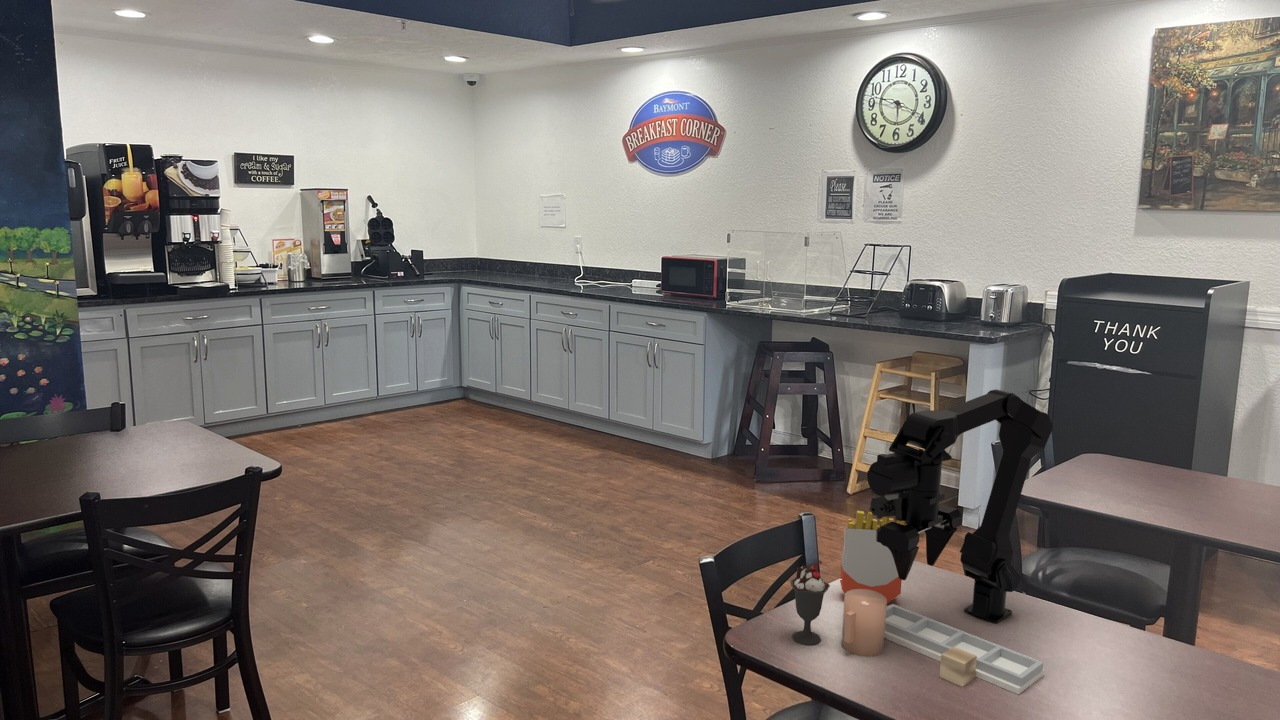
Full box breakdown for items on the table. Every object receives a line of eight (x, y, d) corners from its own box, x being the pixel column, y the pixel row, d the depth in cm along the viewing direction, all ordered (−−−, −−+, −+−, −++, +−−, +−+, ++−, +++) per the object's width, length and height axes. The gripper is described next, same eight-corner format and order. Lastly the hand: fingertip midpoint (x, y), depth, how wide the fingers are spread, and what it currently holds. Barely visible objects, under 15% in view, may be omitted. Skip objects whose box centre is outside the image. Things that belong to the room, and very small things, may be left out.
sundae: (826, 649, 156) (831, 566, 153) (786, 645, 157) (790, 563, 155) (826, 631, 163) (831, 552, 160) (788, 627, 164) (792, 548, 161)
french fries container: (839, 592, 179) (844, 504, 176) (895, 595, 178) (902, 507, 174) (841, 602, 174) (847, 512, 171) (899, 606, 173) (906, 515, 170)
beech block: (951, 669, 151) (953, 646, 150) (974, 678, 148) (976, 655, 147) (939, 677, 148) (941, 654, 147) (962, 687, 145) (964, 663, 144)
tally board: (893, 615, 169) (894, 602, 169) (1043, 675, 149) (1045, 660, 149) (865, 630, 163) (866, 617, 163) (1018, 694, 143) (1019, 679, 143)
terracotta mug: (856, 632, 162) (860, 585, 161) (891, 647, 157) (894, 598, 156) (828, 648, 157) (831, 598, 155) (863, 663, 152) (866, 613, 150)
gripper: (909, 465, 169) (904, 545, 172) (851, 486, 156) (846, 572, 159) (966, 479, 161) (959, 563, 164) (909, 503, 148) (903, 593, 151)
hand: (916, 572), depth 160 cm, fingers open, 9 cm apart
